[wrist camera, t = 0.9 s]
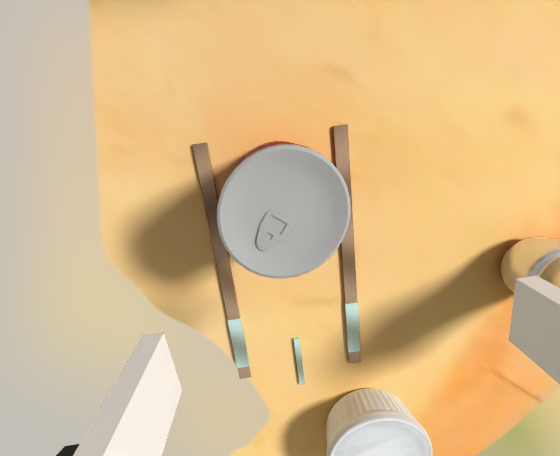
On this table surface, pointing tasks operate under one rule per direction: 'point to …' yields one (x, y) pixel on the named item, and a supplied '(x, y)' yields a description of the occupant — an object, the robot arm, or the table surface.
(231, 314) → the guide strips
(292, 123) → the table surface
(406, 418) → the ramekin
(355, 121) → the table surface
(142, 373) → the robot arm
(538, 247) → the plastic bottle
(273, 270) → the canned food
